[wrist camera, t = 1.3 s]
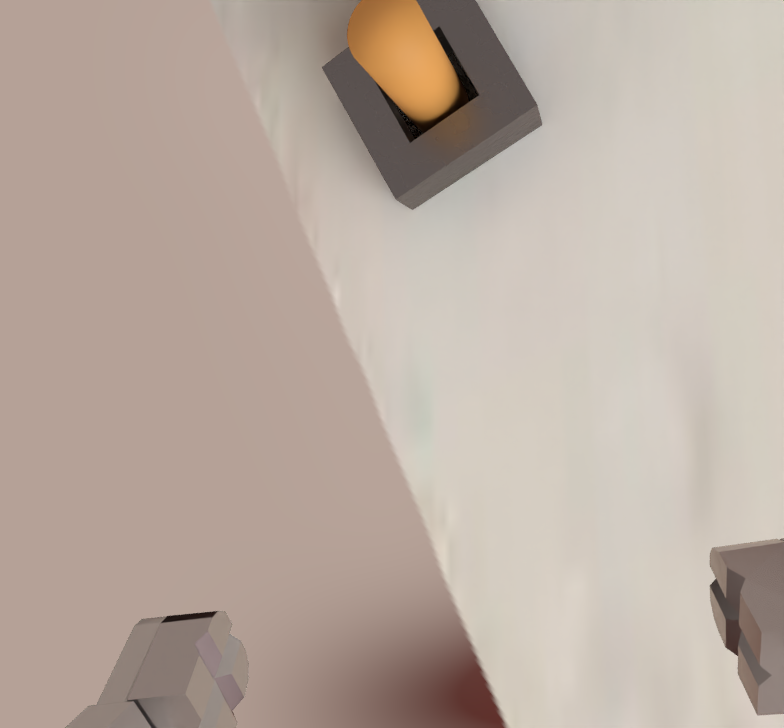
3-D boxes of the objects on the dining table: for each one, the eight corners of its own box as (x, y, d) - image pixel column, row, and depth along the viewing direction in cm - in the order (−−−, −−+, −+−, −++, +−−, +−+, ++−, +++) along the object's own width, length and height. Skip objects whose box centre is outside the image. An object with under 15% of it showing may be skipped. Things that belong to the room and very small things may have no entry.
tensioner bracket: (466, -3, 43) (454, -35, 39) (542, 124, 42) (537, 105, 38) (344, 88, 46) (321, 67, 42) (412, 209, 45) (395, 199, 41)
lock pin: (450, 62, 43) (398, -30, 32) (479, 113, 43) (438, 37, 31) (400, 98, 44) (333, 21, 33) (428, 148, 44) (370, 87, 33)
